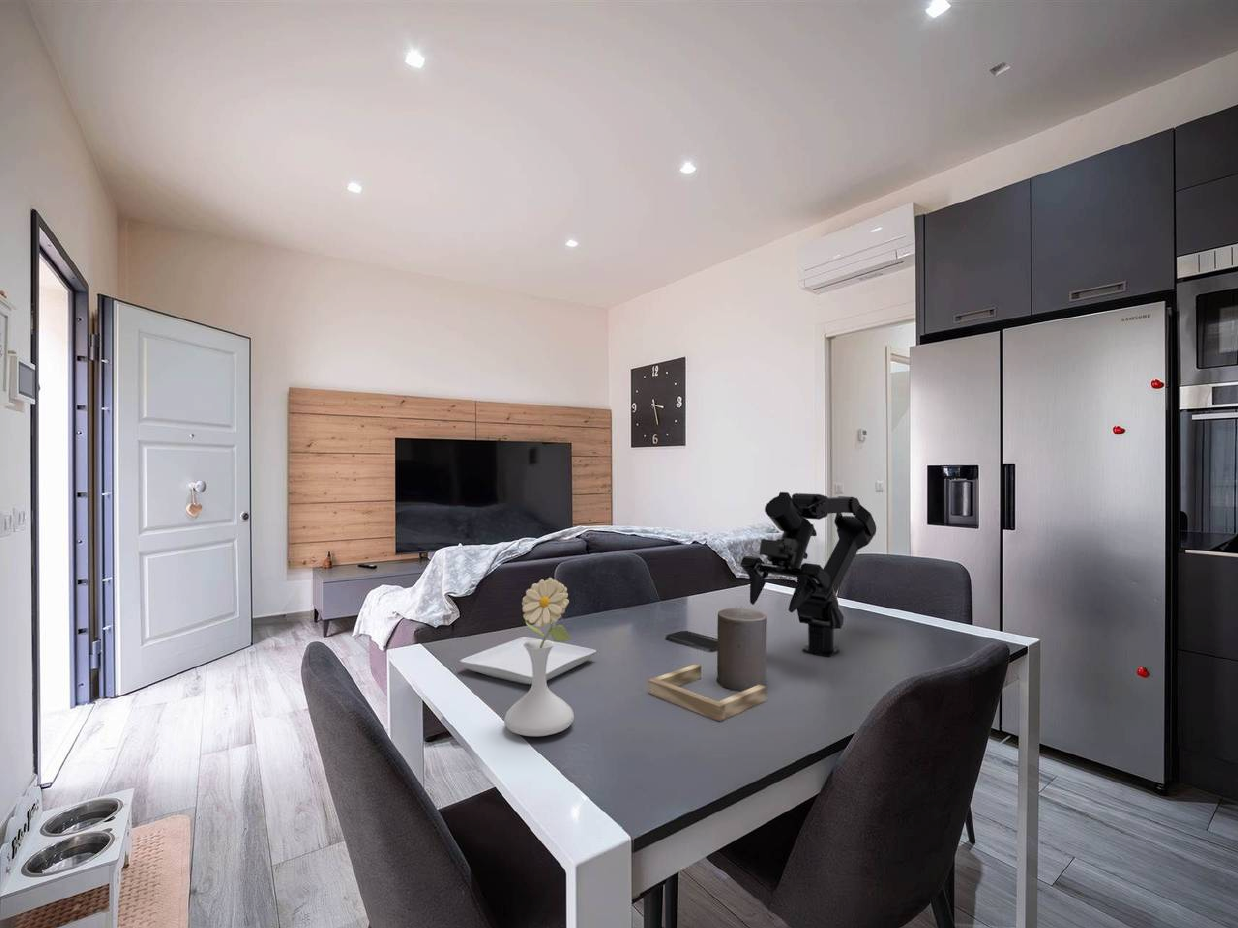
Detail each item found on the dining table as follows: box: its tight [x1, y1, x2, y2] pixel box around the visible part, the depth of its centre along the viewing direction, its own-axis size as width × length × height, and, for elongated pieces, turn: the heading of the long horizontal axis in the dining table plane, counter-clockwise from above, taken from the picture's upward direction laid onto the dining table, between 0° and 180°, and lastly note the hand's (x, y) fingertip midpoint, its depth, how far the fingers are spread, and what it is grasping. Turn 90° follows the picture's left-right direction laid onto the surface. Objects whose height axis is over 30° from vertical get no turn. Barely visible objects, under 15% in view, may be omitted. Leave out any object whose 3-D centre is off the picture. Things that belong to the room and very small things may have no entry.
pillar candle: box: [716, 606, 768, 692], centre depth 118 cm, size 10×10×15 cm
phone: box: [665, 630, 717, 653], centre depth 145 cm, size 8×1×15 cm
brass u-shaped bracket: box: [647, 663, 767, 722], centre depth 111 cm, size 14×17×2 cm
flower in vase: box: [503, 577, 575, 737], centre depth 98 cm, size 13×11×25 cm
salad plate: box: [459, 636, 597, 686], centre depth 127 cm, size 21×21×3 cm
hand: (770, 607), depth 124 cm, fingers open, 9 cm apart
